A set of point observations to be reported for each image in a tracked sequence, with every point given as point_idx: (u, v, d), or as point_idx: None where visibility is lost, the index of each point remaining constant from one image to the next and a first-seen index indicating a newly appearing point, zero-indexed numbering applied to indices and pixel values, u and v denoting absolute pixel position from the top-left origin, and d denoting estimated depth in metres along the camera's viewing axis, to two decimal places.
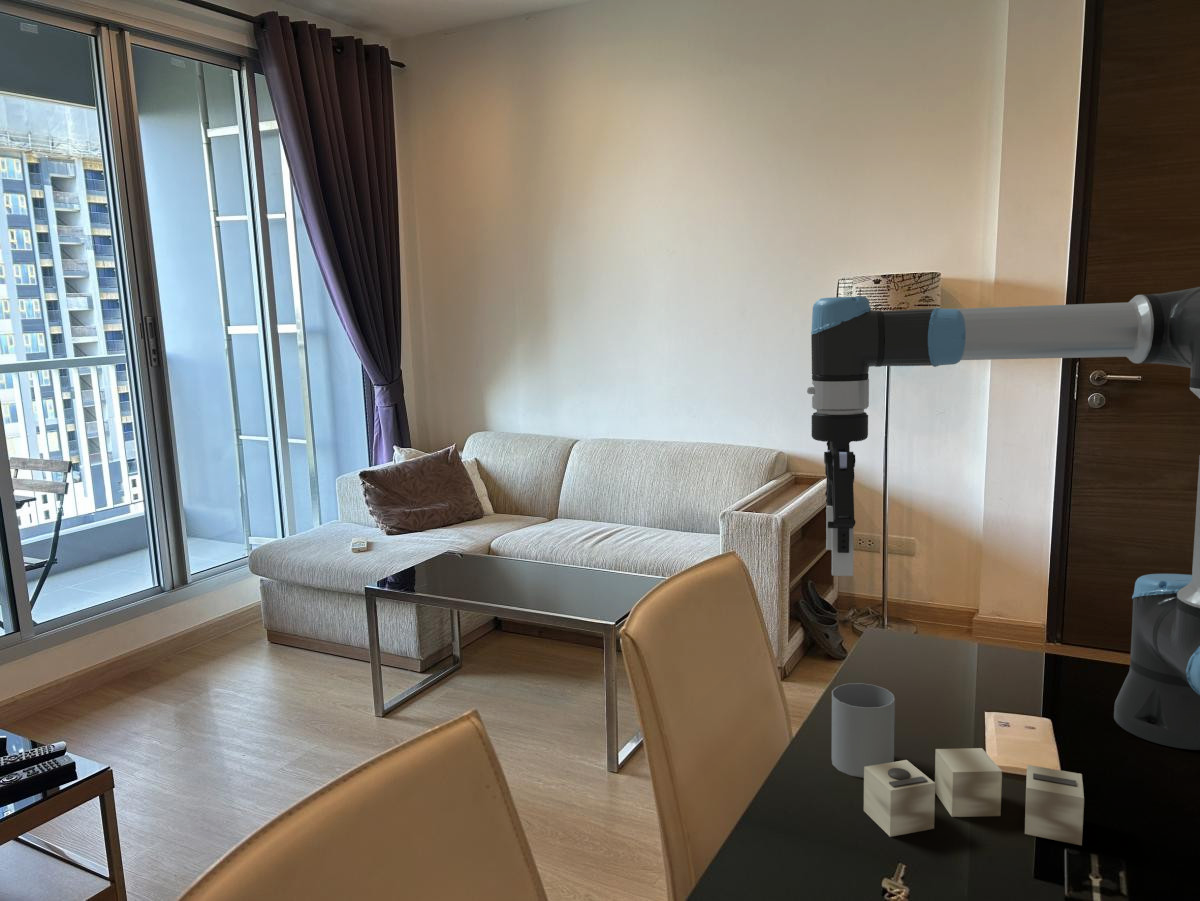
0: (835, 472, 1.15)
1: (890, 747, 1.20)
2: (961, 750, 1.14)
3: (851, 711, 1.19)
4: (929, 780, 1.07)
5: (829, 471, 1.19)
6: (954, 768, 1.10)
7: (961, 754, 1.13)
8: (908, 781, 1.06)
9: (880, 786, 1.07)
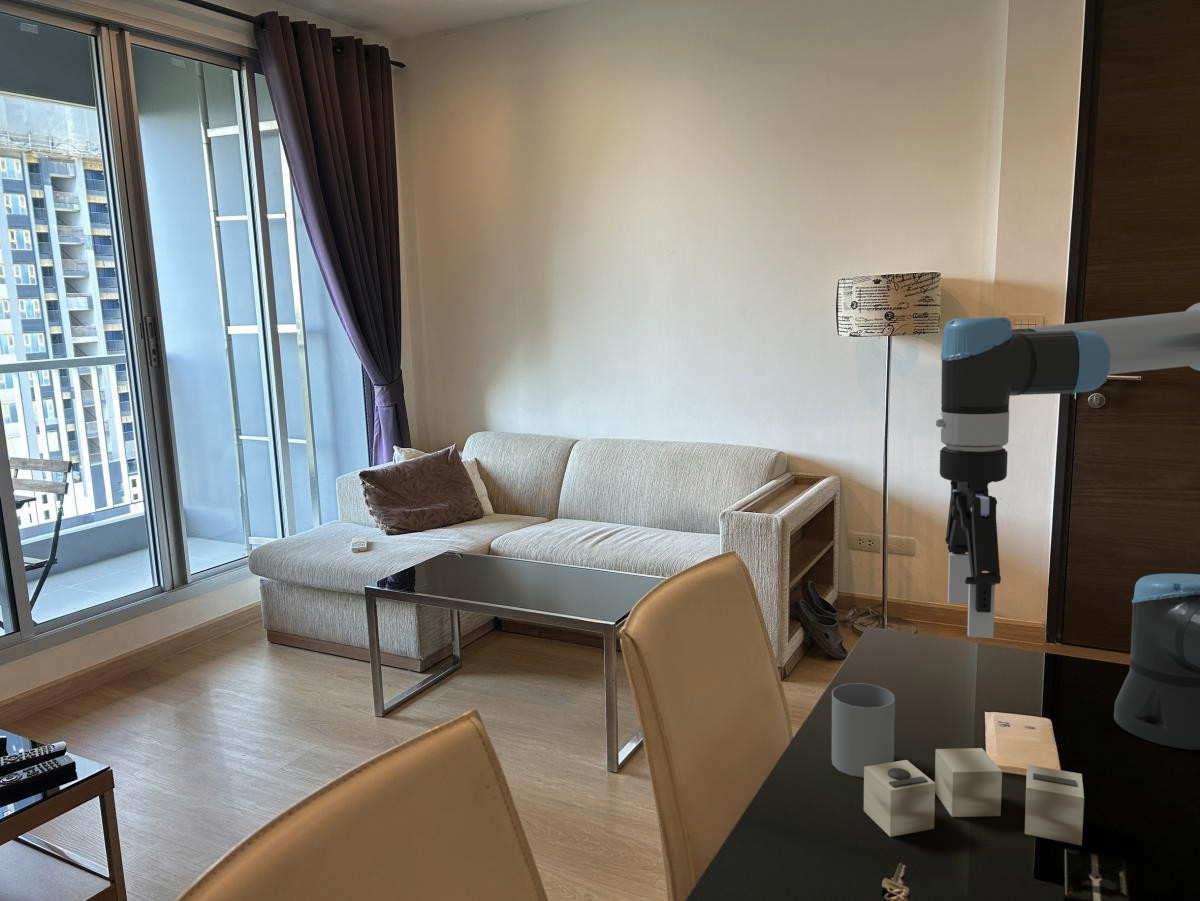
0: (976, 520, 1.01)
1: (890, 747, 1.20)
2: (961, 750, 1.14)
3: (851, 711, 1.19)
4: (929, 780, 1.07)
5: (963, 516, 1.04)
6: (954, 768, 1.09)
7: (961, 754, 1.13)
8: (908, 781, 1.06)
9: (880, 786, 1.07)
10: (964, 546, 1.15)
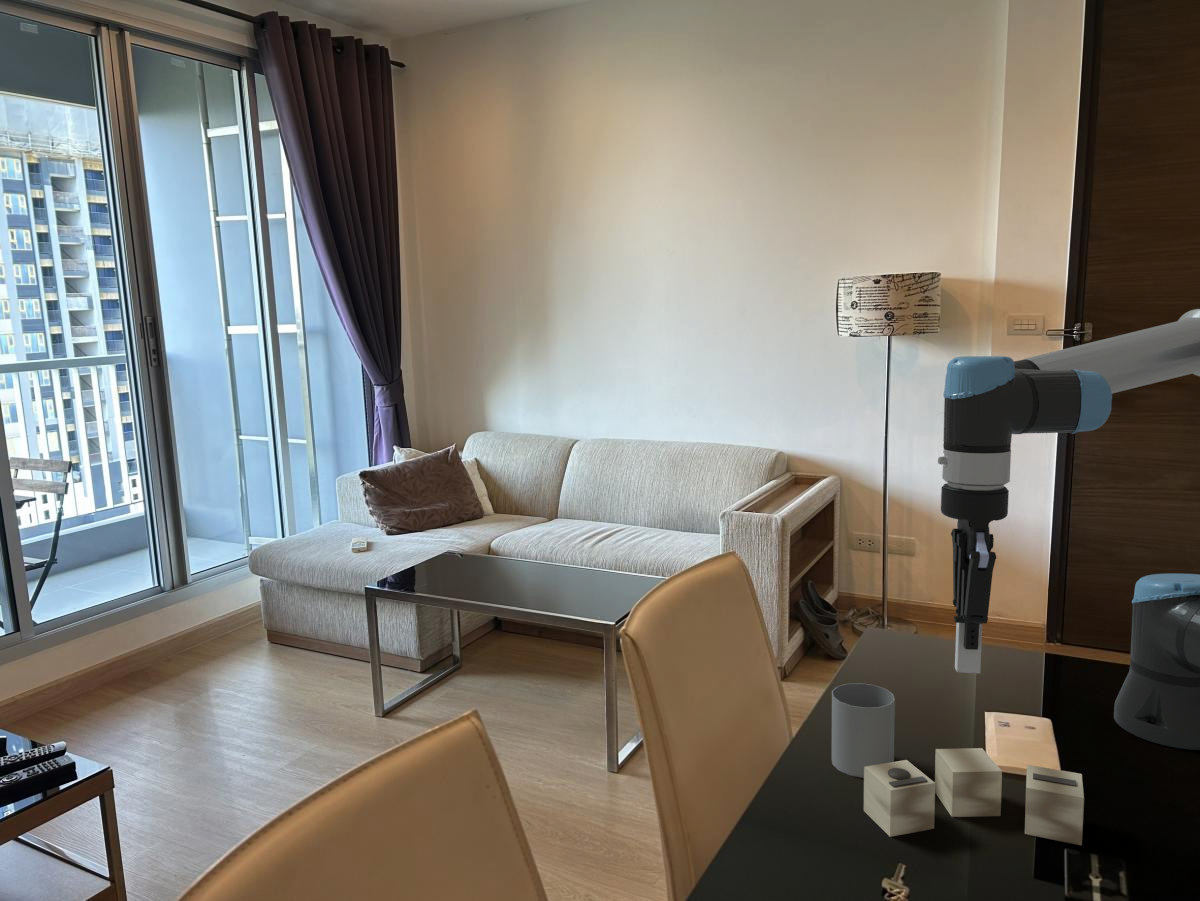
0: (973, 573, 1.03)
1: (890, 747, 1.20)
2: (961, 750, 1.14)
3: (851, 711, 1.19)
4: (929, 780, 1.07)
5: (962, 558, 1.06)
6: (954, 767, 1.10)
7: (961, 754, 1.13)
8: (908, 781, 1.06)
9: (880, 786, 1.07)
10: None
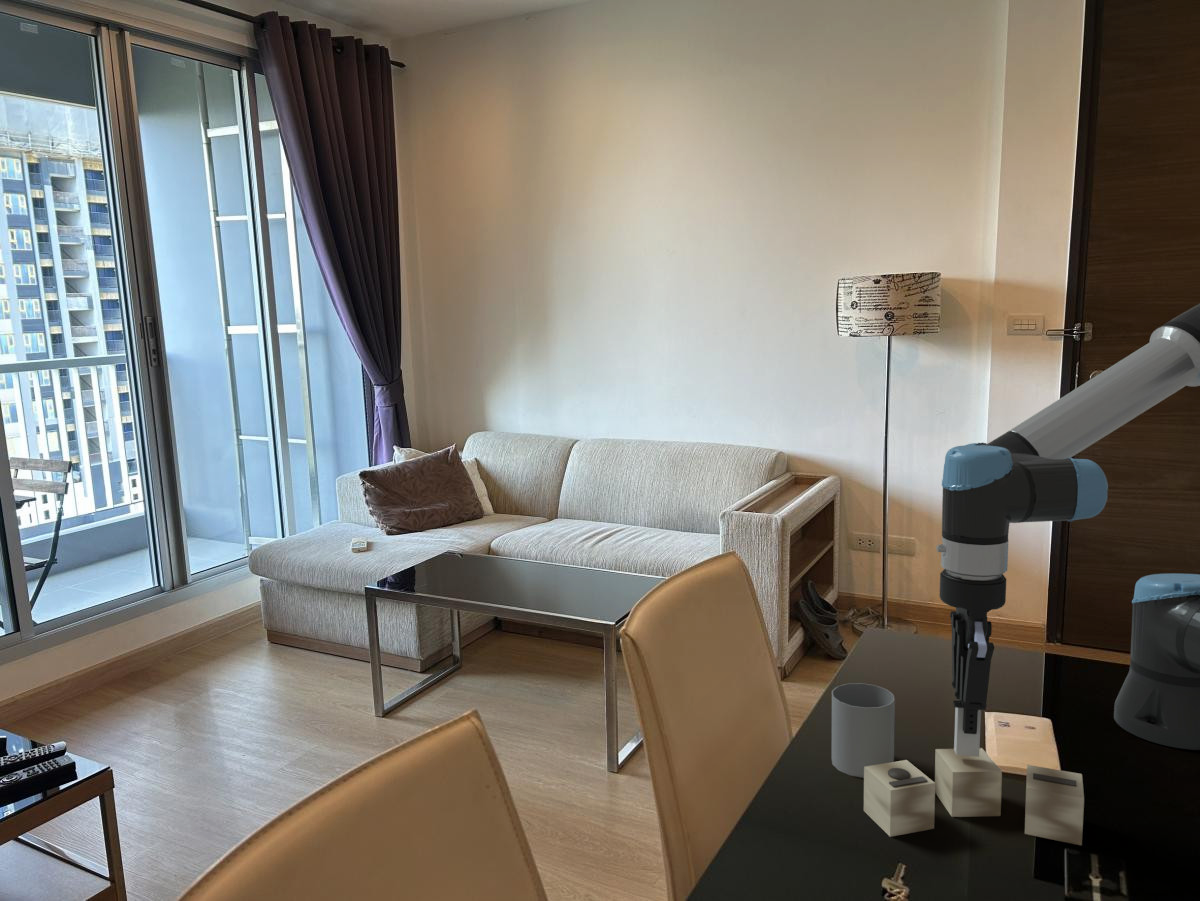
0: (971, 662, 1.04)
1: (890, 747, 1.20)
2: None
3: (851, 711, 1.19)
4: (929, 780, 1.07)
5: (960, 645, 1.08)
6: (954, 768, 1.10)
7: None
8: (908, 781, 1.06)
9: (880, 786, 1.07)
10: None
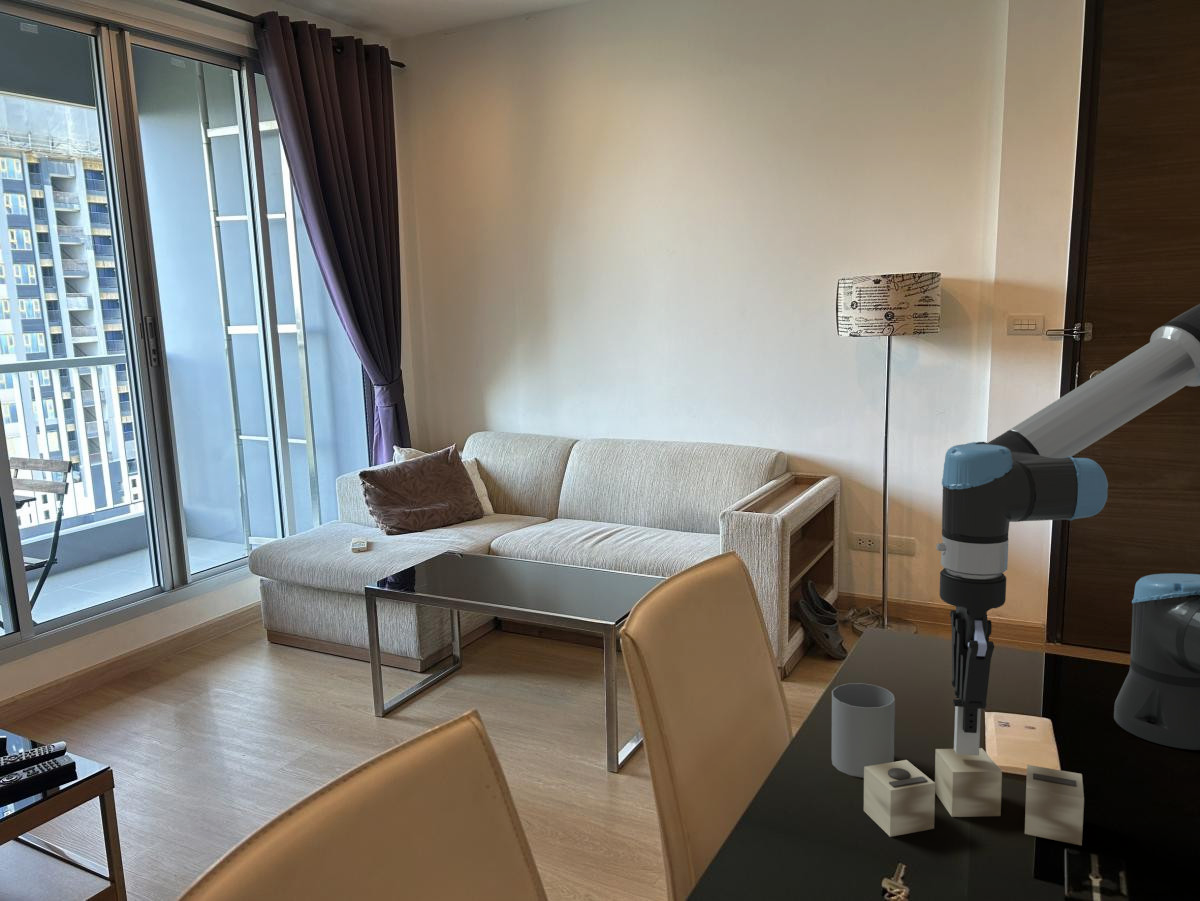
0: (971, 661, 1.04)
1: (890, 747, 1.20)
2: None
3: (851, 711, 1.19)
4: (929, 780, 1.07)
5: (960, 644, 1.08)
6: (954, 767, 1.10)
7: (961, 754, 1.13)
8: (908, 781, 1.06)
9: (880, 786, 1.07)
10: None
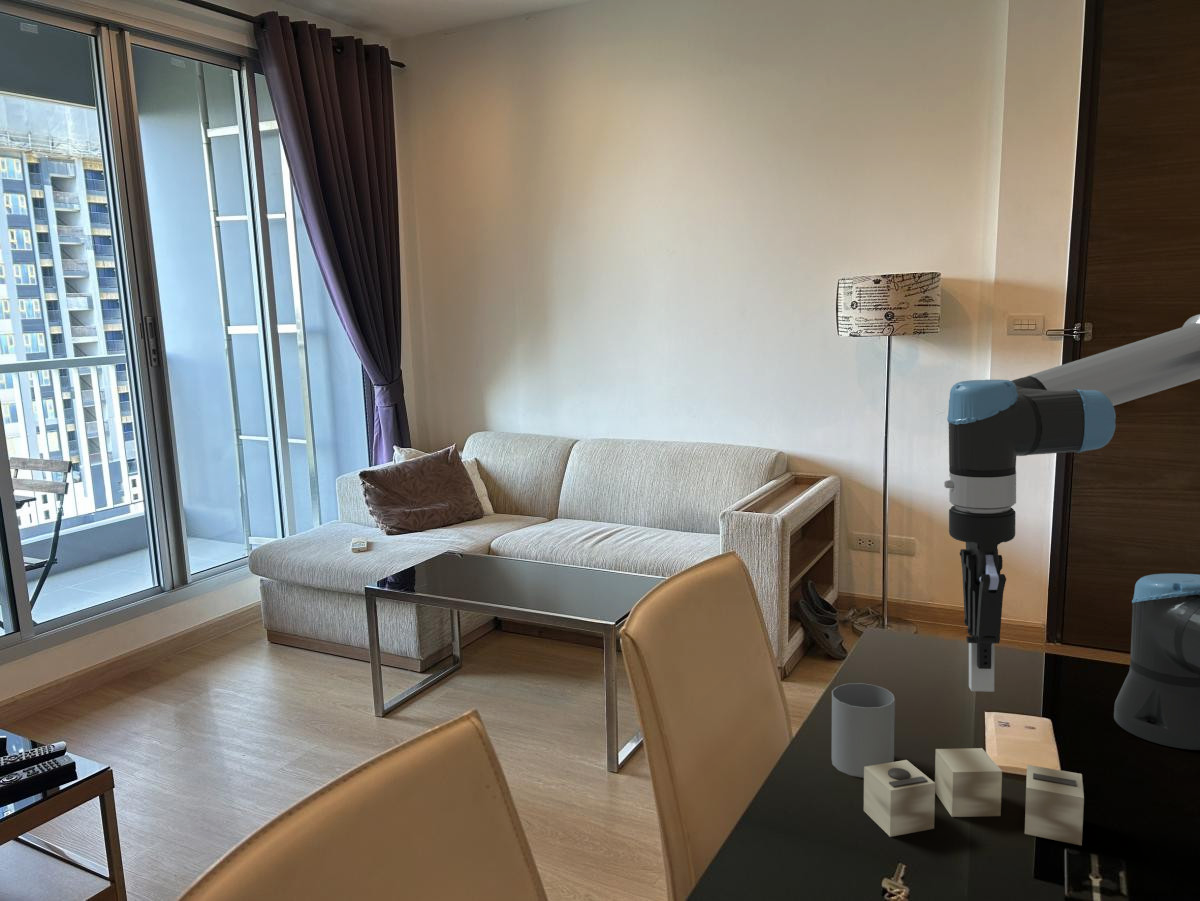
0: (983, 595, 1.04)
1: (890, 747, 1.20)
2: (961, 750, 1.14)
3: (851, 711, 1.19)
4: (929, 780, 1.07)
5: (972, 580, 1.08)
6: (954, 767, 1.09)
7: (961, 754, 1.13)
8: (908, 781, 1.06)
9: (880, 786, 1.07)
10: None
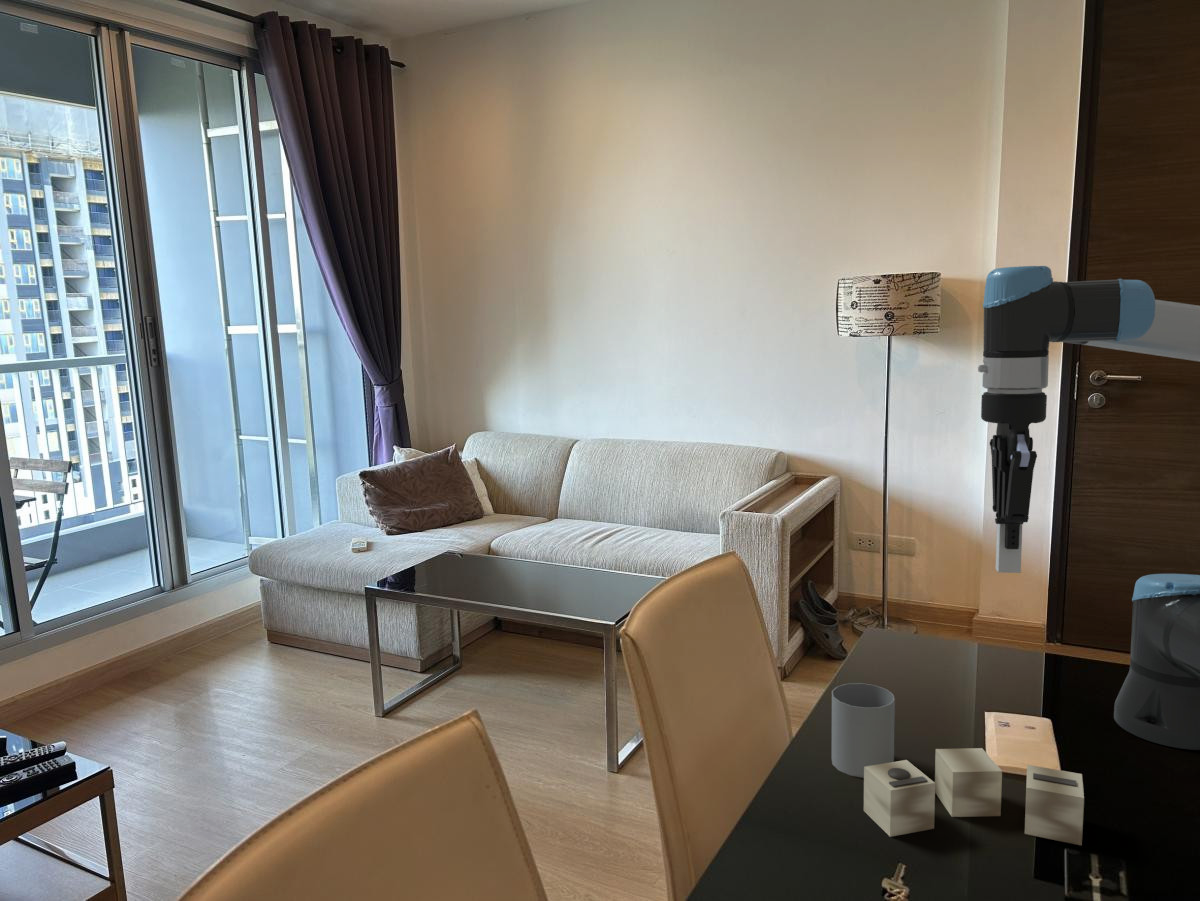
0: (1014, 472, 1.08)
1: (890, 747, 1.20)
2: (961, 750, 1.14)
3: (851, 711, 1.19)
4: (929, 780, 1.07)
5: (1002, 461, 1.11)
6: (954, 767, 1.10)
7: (961, 754, 1.13)
8: (908, 781, 1.06)
9: (880, 786, 1.07)
10: None
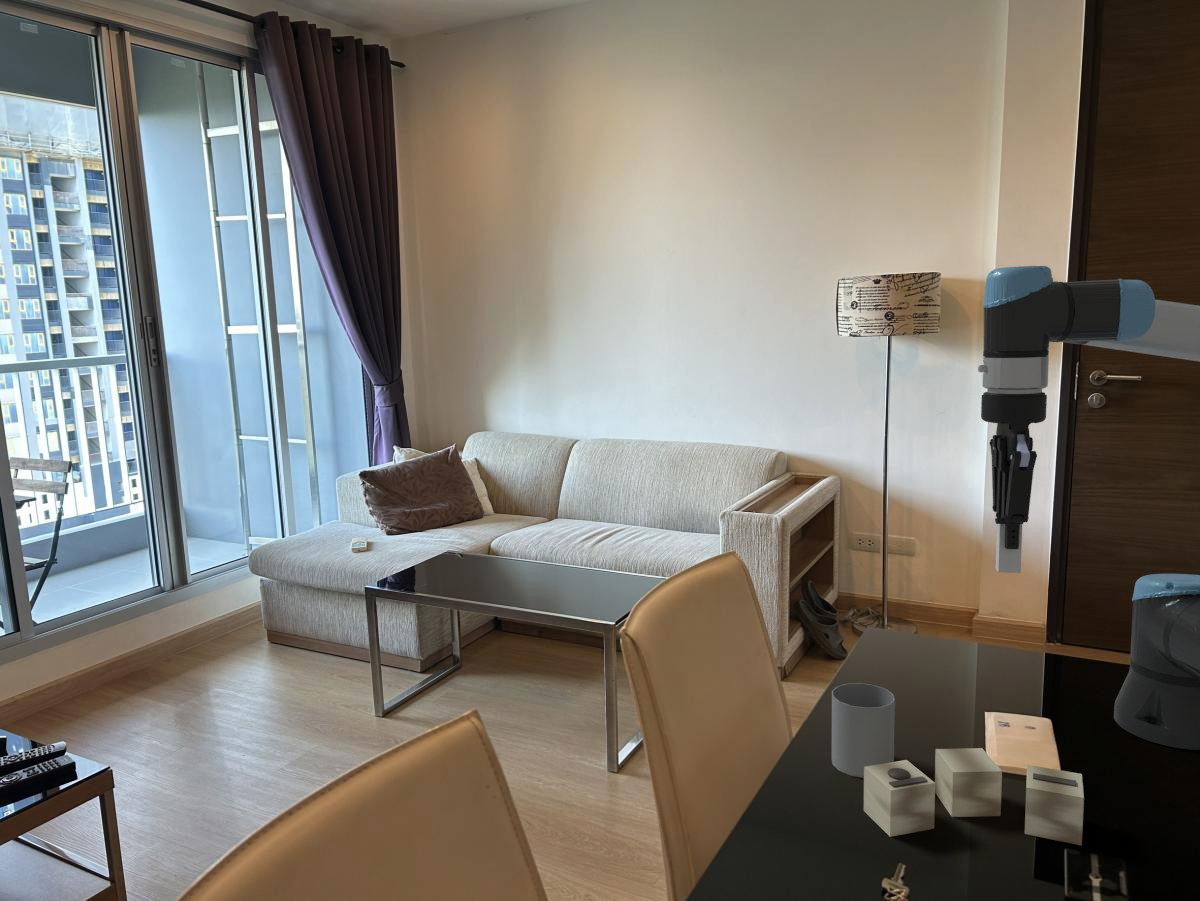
0: (1014, 472, 1.08)
1: (890, 747, 1.20)
2: (961, 750, 1.14)
3: (851, 711, 1.19)
4: (929, 780, 1.07)
5: (1002, 461, 1.11)
6: (954, 768, 1.09)
7: (961, 754, 1.13)
8: (908, 781, 1.06)
9: (880, 786, 1.07)
10: None
